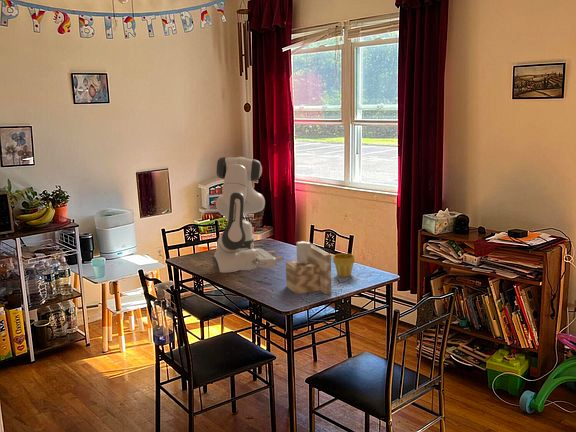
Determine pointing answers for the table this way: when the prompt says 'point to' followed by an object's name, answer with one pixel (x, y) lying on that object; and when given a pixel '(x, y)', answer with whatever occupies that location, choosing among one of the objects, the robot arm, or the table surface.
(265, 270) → the table surface
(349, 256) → the plant pot
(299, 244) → the grey brown tall block
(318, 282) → the tan blocky piece
